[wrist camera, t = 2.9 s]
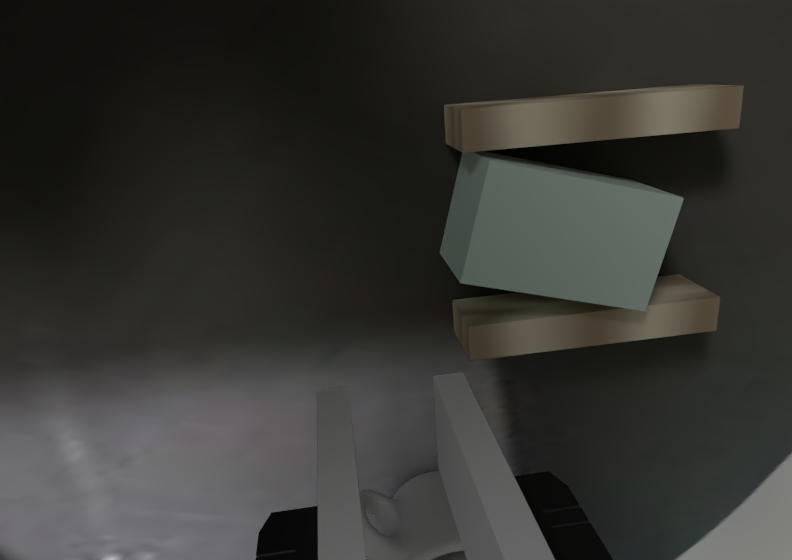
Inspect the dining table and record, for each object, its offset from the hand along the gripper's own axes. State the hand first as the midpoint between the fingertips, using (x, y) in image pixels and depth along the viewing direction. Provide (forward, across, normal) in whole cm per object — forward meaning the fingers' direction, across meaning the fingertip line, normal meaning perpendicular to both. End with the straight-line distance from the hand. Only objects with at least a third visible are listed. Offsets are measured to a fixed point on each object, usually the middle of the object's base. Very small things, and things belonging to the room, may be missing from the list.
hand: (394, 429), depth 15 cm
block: (+20, +10, 0) cm, 22 cm away
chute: (+19, +12, 0) cm, 23 cm away
